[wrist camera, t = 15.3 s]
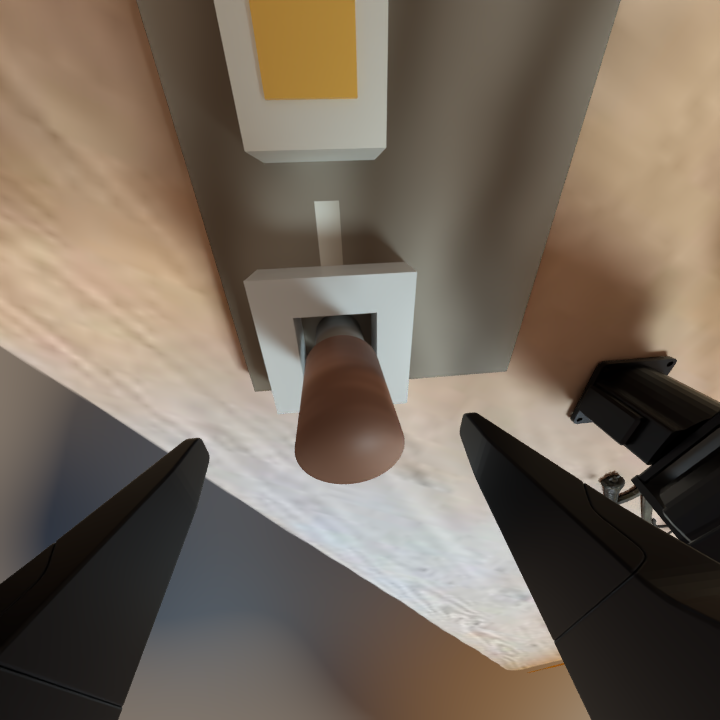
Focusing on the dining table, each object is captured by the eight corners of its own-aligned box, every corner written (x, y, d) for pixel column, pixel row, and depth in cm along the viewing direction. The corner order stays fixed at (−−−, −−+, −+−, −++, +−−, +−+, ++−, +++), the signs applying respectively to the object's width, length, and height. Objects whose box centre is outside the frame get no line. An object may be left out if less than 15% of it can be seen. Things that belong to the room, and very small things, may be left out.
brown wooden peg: (367, 303, 15) (408, 402, 8) (367, 356, 17) (401, 477, 10) (305, 307, 15) (285, 414, 8) (313, 360, 17) (303, 489, 9)
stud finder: (373, -114, 8) (393, -264, 6) (374, 159, 12) (387, 146, 9) (213, -119, 8) (153, -281, 5) (263, 163, 12) (243, 150, 9)
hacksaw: (596, 474, 31) (608, 486, 29) (693, 439, 29) (710, 450, 27) (603, 551, 42) (612, 562, 41) (672, 529, 40) (683, 540, 39)
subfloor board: (645, -187, 9) (698, -252, 8) (495, 360, 20) (506, 371, 19) (92, -217, 8) (45, -299, 7) (260, 379, 19) (254, 391, 18)
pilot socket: (404, 261, 14) (417, 271, 12) (398, 379, 19) (406, 402, 16) (257, 269, 14) (243, 281, 12) (284, 389, 18) (277, 414, 16)
